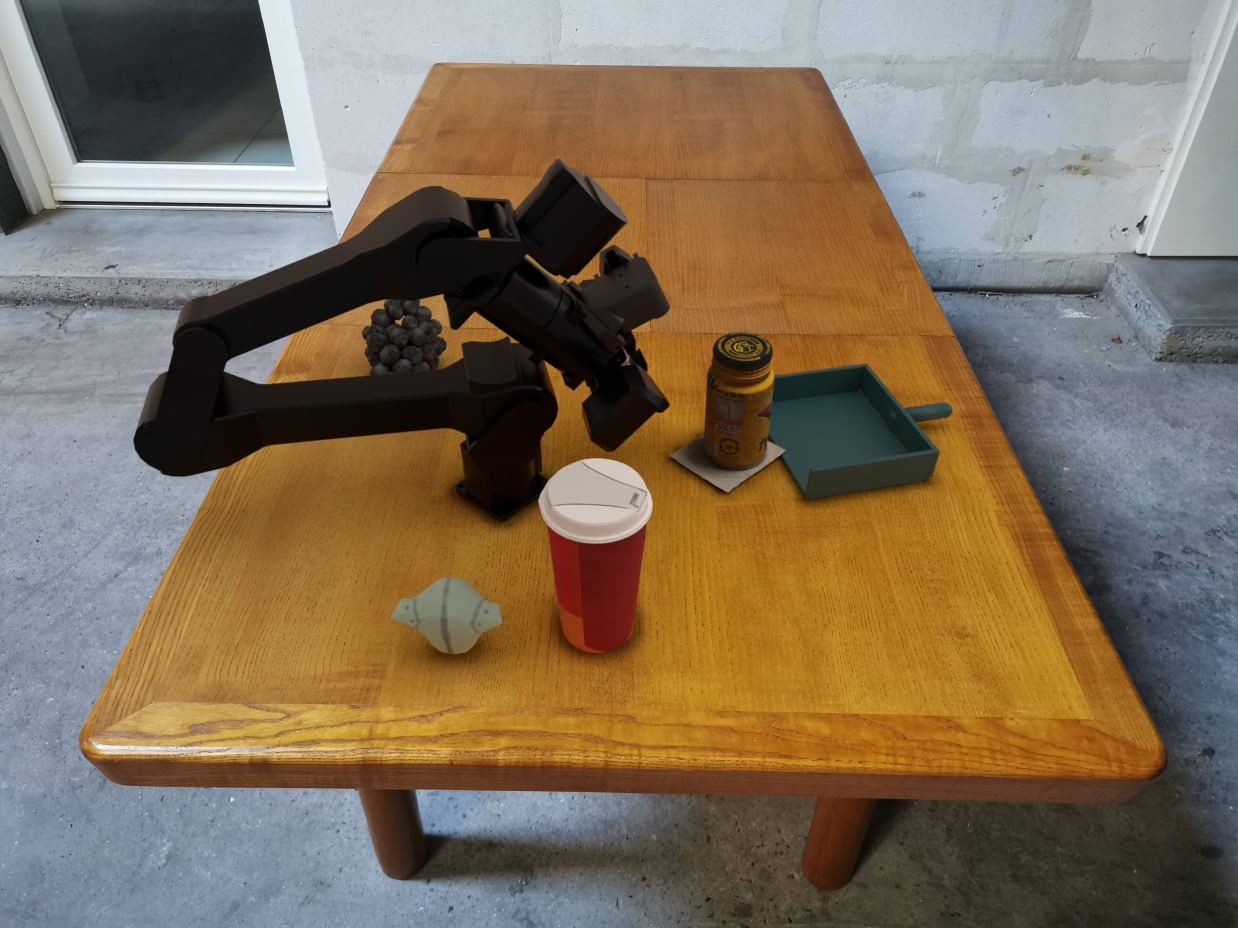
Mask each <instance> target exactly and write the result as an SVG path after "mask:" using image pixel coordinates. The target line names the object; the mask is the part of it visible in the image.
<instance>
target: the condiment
mask: <svg viewBox="0 0 1238 928" xmlns="http://www.w3.org/2000/svg"><path fill="white" fill-rule="evenodd" d="M773 350H774V348H773V345H772V344H771V342H770V341H769V340H768V339H766V337H764V336H761V335H759V334H757V333H753V332H748V331H747V332H746V331H739V332H738V331H737V332H730V333H728V334H724V335H722V336H720V337H718V338H717V339H716V340H715V342H714V343H713V347H712V357H711V359H710V362H711V364H710V366H709V367H708V369H707V374H706V387H705V388H706V389H705V409H704V428H703V429H704V431H703V434H702V435H700V436H698V437H697V438H694V439H693V440H691V441H690V442H689V443H687V444H686V445H684V446H683V447H681V448H679V449H677V450H676V451H674V452H673V453H671V454H670V455H669V456H670V457H671V458H672V459H674V460H675V461H676V462H677V463H679V464H681V465H682V466H683V467H685V468H687V469H688V470H690V471H691V472H692V473H694V474H696V475H698V476H699V477H700V478H701V479H703V480H706V481H708V482H709V483H711V484H712V485H714V486H715V487H717V488H719V489H721V490H723V491H724V492H725V493H729V492H732V490H733V489H734V488H736V487H738V486H739V485H740V484H742V482H744V481H746V480H747V479H748V478H750V477H751V476H753V475H754V474H756V473H758V472H759V471H761V470H762V469H763V468H765V467H766V466H767V465H769V464H770V463H772V462H773V461H774V460H776V459H777V458H779V456H780V455H781V454H782V453H783V452H784V451H785V450H784V449H782V448H781V447H779V446H777V445H775V444H773V443H772V441H770V440H769V436H768V435H769V426H770V415H771V406H772V397H773V387H774V375H775V372H774V369H773V355H774V351H773ZM780 457H781V456H780Z"/></svg>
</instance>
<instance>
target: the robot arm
mask: <svg viewBox="0 0 1238 928" xmlns="http://www.w3.org/2000/svg"><path fill="white" fill-rule="evenodd" d="M628 222H629V219H628V217H627V215H625V213H624V211H623V209H622V208H621V207H620V206H619V204H618V203H616V201H615V200H614V199H613V198H612V197H611V196H610V195H609V194H608V193H607V192H606V191H605V189H603V187H602V186H601V185H600V184H599V183H598V182H596V180H594V179H593V178H592V177H591V176H590V175H589V174H586V175H584V173H582V172H581V171H579V170H578V169H576V168H574V167H570V166H569V165H568V164H567V163H566V162H564V160H563V159H561V158H557V159H555V160H554V161H553V163H552V164H551V165H550V166H549V167H548V168H547V170H545V172H544V174H543V176H542V178H541V179H540V181H539V182H538V184H537V185H535V187H534V188H533V189H532V190H531V191H530V192H529V194H528V195H527V196H525V198H524V199H523V200H522V201H521V202H520V203H519V205H518V206H517V207H516V208H514V205H513V203H512V201H511V199H509V198H497V197H496V198H493V197H477V196H461V195H460V194H459V193H458V192H456V191H453V190H451V189H448V188H446V187H443V186H442V185H429V186H424V187H421V188H419V189H417V190H415V191H413V192H411V193H410V194H408V195H406V196H405V197H403V198H402V199H400V200H399V201H397V202H395V203H394V204H392V205H390V206H389V207H387V208H386V209H384V210H382V211H381V212H380V213H379V214H378V215H377V216H376V217H375V218H374V219H372V221H371V222H369V223H368V224H367V225H365V227H364V228H363V229H362V230H361V231H359V232H358V233H357V234H355V235H353V236H352V237H350V238H348V239H347V240H345V241H343V242H341V243H338V244H335V245H333V246H331V247H328V248H326V249H323V250H321V251H318V252H316V253H313V254H311V255H308V256H306V257H303V258H301V259H299V260H296V261H294V262H291V263H289V264H286V265H283V266H281V267H278V268H276V269H273V270H271V271H268V272H266V273H263V274H261V275H259V276H256V277H253V278H251V279H249V280H246V281H244V282H241V283H239V284H237V285H234V286H231V287H229V288H226V289H224V290H221V291H219V292H217V293H213V294H212V295H202V296H196V297H194V298H193V299H191V300H189V301H188V302H186V303H184V305H183V306H182V308H181V309H180V311H179V314H178V318H177V320H176V325H175V328H174V331H173V335H172V341H171V344H172V347H173V349H172V353H171V357H170V361H169V365H168V369H167V370H166V371H164V372H162V373H160V374H158V375H157V378H155V379H154V380H153V382H152V383H151V384H150V385H149V387H148V391H147V393H146V396H145V399H144V403H143V406H142V408H141V409H142V410H141V413H140V416H139V419H138V422H137V426H136V429H135V432H134V436H133V439H132V440H133V442H132V443H133V448H134V451H135V452H136V454H137V456H138V458H140V459H141V461H143V462H144V463H145V464H146V465H147V466H148V467H151V468H153V469H154V470H156V471H159V472H160V474H161V475H164V476H167V477H172V478H186V477H192V476H196V475H201V474H204V473H209V472H213V471H217V470H222V469H226V468H229V467H231V466H233V465H235V464H236V463H238V462H241V461H242V460H244V459H246V458H247V457H249V456H251V455H253V454H254V453H257V452H258V451H260V450H262V449H263V448H266V447H270V446H275V445H276V446H278V445H287V444H289V445H290V444H297V443H298V444H299V443H309V442H318V441H329V440H340V439H350V438H351V439H352V438H359V437H360V438H361V437H371V436H381V435H392V434H402V433H403V434H404V433H411V432H412V433H413V432H421V431H434V430H442V429H443V430H445V429H448V430H453V431H456V432H460V433H462V434H464V435H465V440H463V441H461V442H459V443H460V444H459V447H460V455H461V462H462V468H463V469H462V470H463V477H464V479H463V480H461V481H459V482H457V483H456V484H455V486H454V487H455V492H456V493H458V494H459V495H460V496H462V497H463V498H465V499H466V500H468V501H469V502H470V503H472V504H474V505H475V506H477V507H478V508H479V509H481V510H482V511H484V512H485V513H487V514H488V515H490V516H491V517H493V518H494V519H496V520H497V521H499V522H504V521H507V520H509V519H510V518H511V517H513V516H514V515H516V514H517V513H519V512H520V511H522V510H524V508H526V507H527V506H529V505H530V504H531V503H533V502H534V501H536V500H538V499H539V498H540V495H541V493H542V491H543V489H544V488H545V486H546V484H547V482H548V481H549V480H550V478H547V477H546V476H544V475H542V474H541V473H542V472H543V459H542V441H541V440H542V438H543V437H544V436H545V433H546V432H547V431H548V430H549V429H551V428H552V427H553V425H554V424H555V422H556V420H557V418H558V413H559V404H558V399H557V396H556V393H555V390H554V386H553V383H552V380H551V376H550V374H549V370H548V367H547V364H548V365H550V366H551V367H552V368H554V369H556V370H557V371H558V372H560V375H561V377H562V380H563V383H564V386H566V387H567V388H569V389H570V390H571V391H573V392H574V391H576V389H578V388H579V386H580V385H582V383H583V382H584V384H585V386H586V387H587V388H589V390H590V393H591V394H589V396H588V397H587V398H585V399H584V400H583V401H582V402H581V416H582V420H583V423H584V426H585V428H586V432H587V434H588V438H589V440H590V443H593V444H594V445H595V446H597V447H598V448H600V449H602V450H603V451H605V452H606V453H614V452H615V451H617V449H618V448H620V447H621V446H622V445H623V444H624V443H625V442H626V441H627V440H628V439H629V438H630V437H631V436H632V435H634V434H635V432H636V431H638V430H639V429H640V428H641V427H642V426H643V425H644V424H645V423H646V422H647V421H648V420H649V419H650V418H652V417H653V416H654V415H655V414H656V413H658V414H662V413H664V412H665V411H666V410H667V409H669V408H670V406H671V404H670V402H669V399H668V398H667V396H666V395H665V394H664V392H663V391H662V389H660V387H659V386H658V384H657V383H656V382H655V380H654V379H653V378H652V376H651V375H650V374H649V373H648V370H649V365H648V362H647V360H646V358H645V356H644V353H643V352H642V350H641V348H640V347H639V348H637V339H636V338H635V335H634V333H633V330H635V329H637V328H639V327H641V326H643V325H645V324H646V323H648V322H651V321H652V320H658V319H660V318H663V317H664V316H665V315H667V313H668V312H669V311H670V309H671V305H670V303H669V301H668V299H667V296H666V295H665V293H664V290H663V288H662V286H661V284H660V282H659V279H658V278H657V276H656V274H655V272H654V270H653V268H652V267H651V265H650V263H649V262H648V260H647V259H646V257H644V256H639V254H638V253H637V252H634V253H632V257H631V255H630V254H629V252H627V251H625V250H624V249H622V248H621V247H619V246H618V245H616V244H611V245H610V246H607V245H608V244H609V243H610V241H611V240H612V239H614V237H615V236H616V235H617V234H618V233H619V232H620V231H621V230H622V229H623V228H624V227H625V226H626V225H627V224H628ZM485 230H488V233H489V237H487V236H486V237H485V236H484V237H482V236H480V234H479V232H482V231H485ZM606 246H607V247H606ZM605 247H606V248H605ZM598 254H599V258H598V272H599V273H595V274H593V278H590V279H589V278H588V279H582V281H580V283H578V284H577V283H576V282H575V281H574V280H570V281H569V279H571V278H572V277H573V276H575V277H576V276H578V275H579V274H580V273H581V272H582V271H583V270H584V269H585V268H586V266H587V265H589V264H590V262H592V260H593V259H594V258H595V257H596V256H597V255H598ZM527 256H528V257H530V258H531V259H532V260H533V261H532V260H531V259H530V258H528V257H527ZM536 263H537V264H536ZM551 275H552V276H551ZM553 276H555V277H559V276H560V277H561V278H564V280H563V281H562V282H561V283H560V282H559V281H558V280H556V279H555V278H553ZM437 296H442V298H443V301H444V303H445V304H446V313H447V317H448V323H449V327H450V329H451V330H453V331H457V330H459V329H460V328H462V326H464V324H465V323H466V322H467V320H469V319H470V318H471V316H472V315H474V313H476V314H477V315H479V316H480V317H481V318H482V319H484V320H486V321H487V322H489V323H490V324H492V326H495V327H496V328H497V329H498V330H500V331H501V332H503V333H504V334H506V336H505V337H503V338H500V339H497V340H492V341H480V340H479V341H477V340H470V341H465V342H462V343H461V345H460V346H461V351H462V356H463V357H461V358H460V359H458V360H457V361H455V362H453V363H451V364H449V365H448V366H446V367H444V368H439V369H436V370H430V371H418V372H406V373H394V374H382V375H370V374H369V375H362V376H360V375H359V376H347V377H337V378H323V379H312V380H311V379H309V380H299V381H298V380H297V381H287V382H276V383H259V382H256V381H255V382H254V381H252V380H250V379H246V378H244V377H241V376H239V375H235V374H233V373H230V372H227V371H225V369H226V367H227V363H228V362H230V361H231V360H232V359H234V358H237V357H239V356H241V355H244V354H247V353H249V352H252V351H254V350H256V349H259V348H261V347H264V346H267V345H269V344H271V343H273V342H276V341H279V340H281V339H284V338H286V337H289V336H291V335H294V334H296V333H299V332H302V331H304V330H306V329H308V328H311V327H313V326H317V325H319V324H321V323H323V322H326V321H328V320H331V319H333V318H336V317H339V316H341V315H344V314H346V313H349V312H351V311H353V310H356V309H359V308H361V307H363V306H366V305H369V304H371V303H377V302H381V301H385V300H387V299H388V300H408V301H415V300H420V301H421V300H424V299H428V298H432V297H437ZM511 339H513V340H514V341H515V342H512V340H511Z"/></svg>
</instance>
